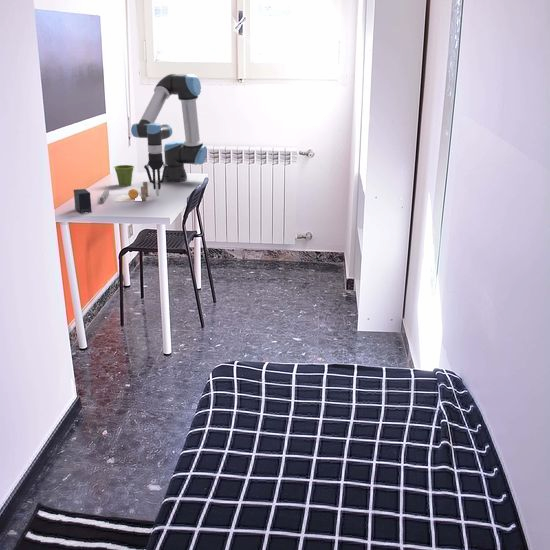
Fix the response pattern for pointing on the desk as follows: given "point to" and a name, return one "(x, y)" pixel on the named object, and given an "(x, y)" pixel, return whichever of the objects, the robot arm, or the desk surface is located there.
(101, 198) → the stopper wall
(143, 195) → the post
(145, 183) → the post
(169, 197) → the desk surface
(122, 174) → the plant pot
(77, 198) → the small box
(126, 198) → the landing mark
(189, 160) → the robot arm
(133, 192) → the ball
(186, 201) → the desk surface
